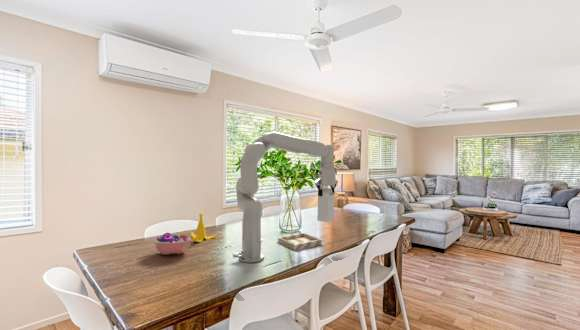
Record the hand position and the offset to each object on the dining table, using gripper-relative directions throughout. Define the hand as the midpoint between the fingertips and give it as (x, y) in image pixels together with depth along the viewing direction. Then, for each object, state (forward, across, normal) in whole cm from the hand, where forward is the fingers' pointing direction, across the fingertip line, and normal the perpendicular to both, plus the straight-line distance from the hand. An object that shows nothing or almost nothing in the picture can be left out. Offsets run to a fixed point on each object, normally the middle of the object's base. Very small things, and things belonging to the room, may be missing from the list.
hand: (326, 195), depth 163 cm
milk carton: (+15, 0, 0) cm, 15 cm away
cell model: (+32, -76, +37) cm, 90 cm away
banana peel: (+32, -53, +55) cm, 83 cm away
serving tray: (+30, -8, +14) cm, 34 cm away
